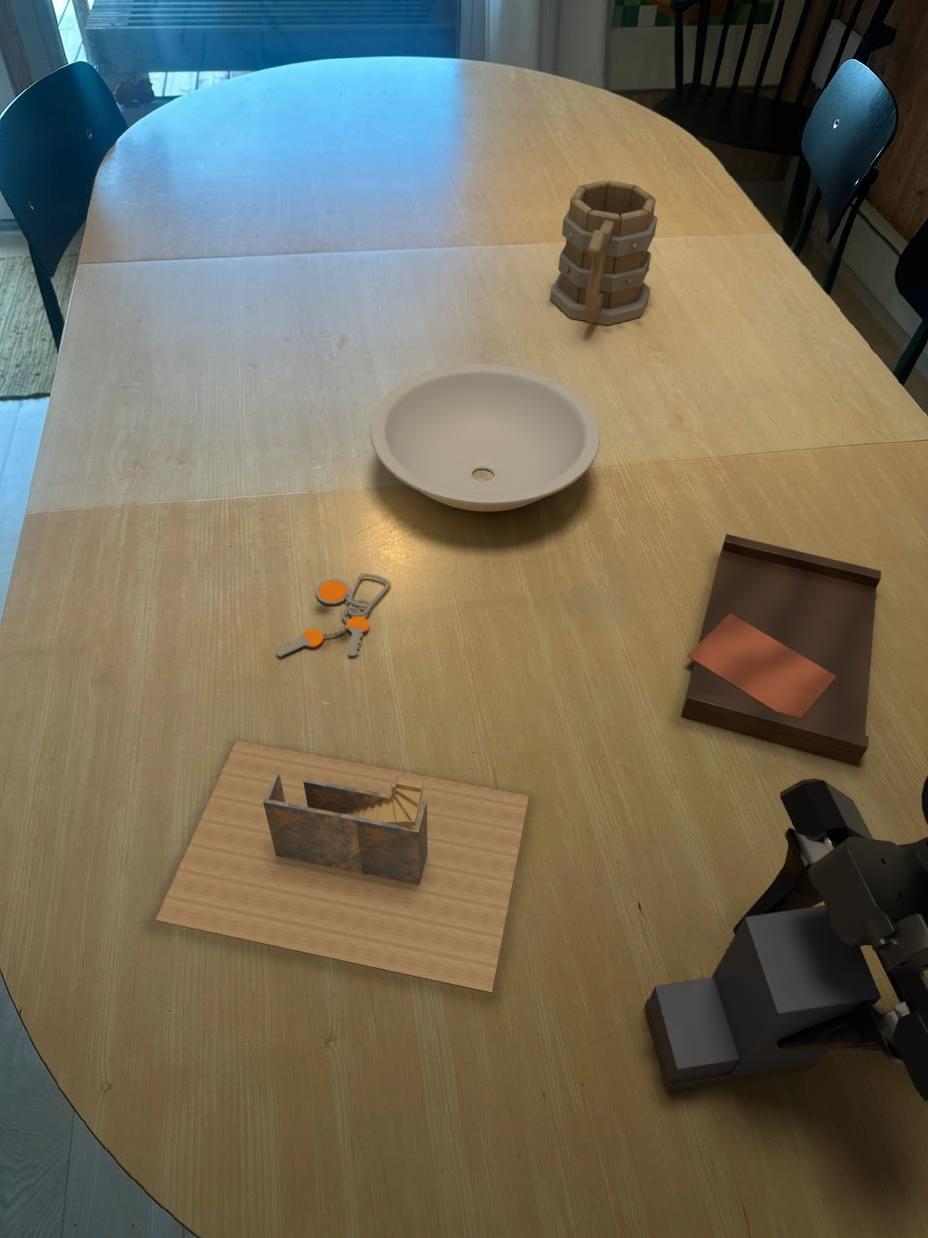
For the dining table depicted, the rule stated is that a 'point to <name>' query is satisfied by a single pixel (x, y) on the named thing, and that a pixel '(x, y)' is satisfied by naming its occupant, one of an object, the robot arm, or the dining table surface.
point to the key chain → (335, 594)
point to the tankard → (606, 253)
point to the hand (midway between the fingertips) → (757, 987)
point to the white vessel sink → (484, 435)
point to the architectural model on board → (353, 864)
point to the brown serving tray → (786, 649)
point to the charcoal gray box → (758, 1001)
